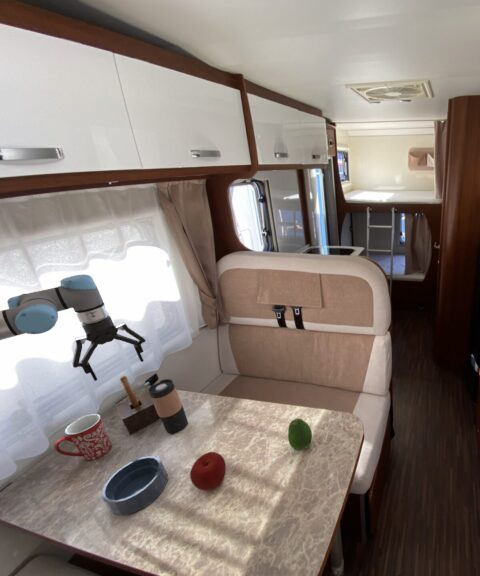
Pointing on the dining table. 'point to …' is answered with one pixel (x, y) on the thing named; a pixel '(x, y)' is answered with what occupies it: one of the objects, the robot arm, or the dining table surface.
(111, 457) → the dining table surface
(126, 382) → the stick
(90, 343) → the robot arm
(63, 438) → the mug
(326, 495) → the dining table surface
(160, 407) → the travel mug
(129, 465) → the bowl
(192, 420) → the dining table surface
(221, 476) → the apple
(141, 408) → the holder
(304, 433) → the fruit
